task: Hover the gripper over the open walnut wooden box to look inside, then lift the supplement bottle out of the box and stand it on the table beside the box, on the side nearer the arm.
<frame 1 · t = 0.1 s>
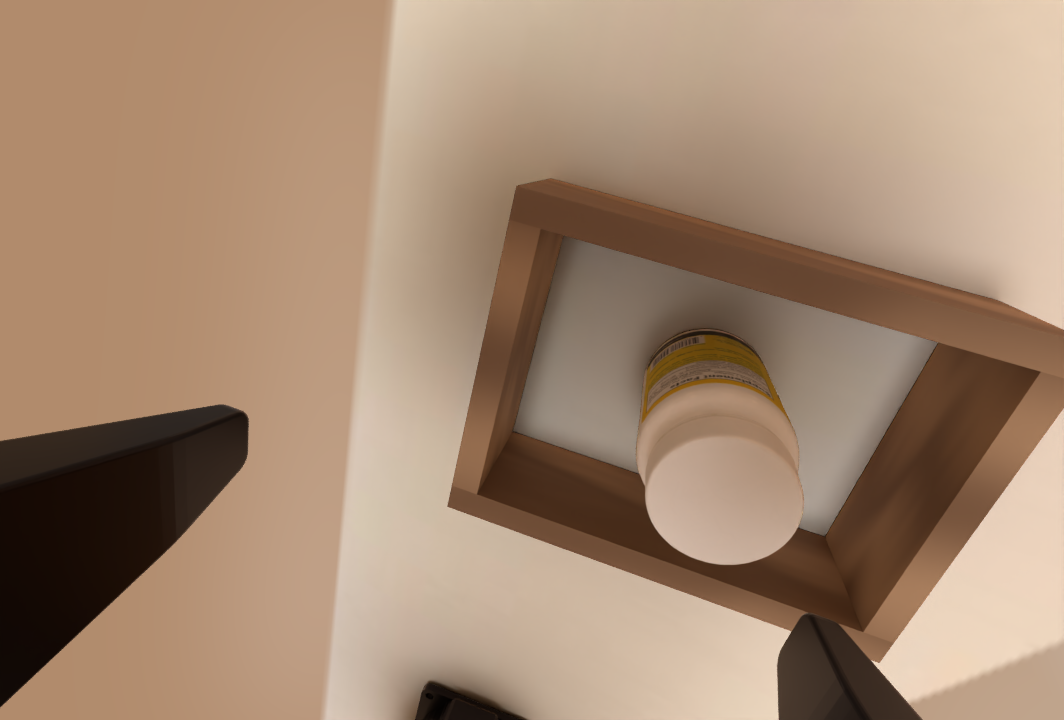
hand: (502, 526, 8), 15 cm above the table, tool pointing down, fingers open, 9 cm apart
walnut box: (703, 382, 22), on the table
supplement bottle: (703, 380, 22), resting in walnut box
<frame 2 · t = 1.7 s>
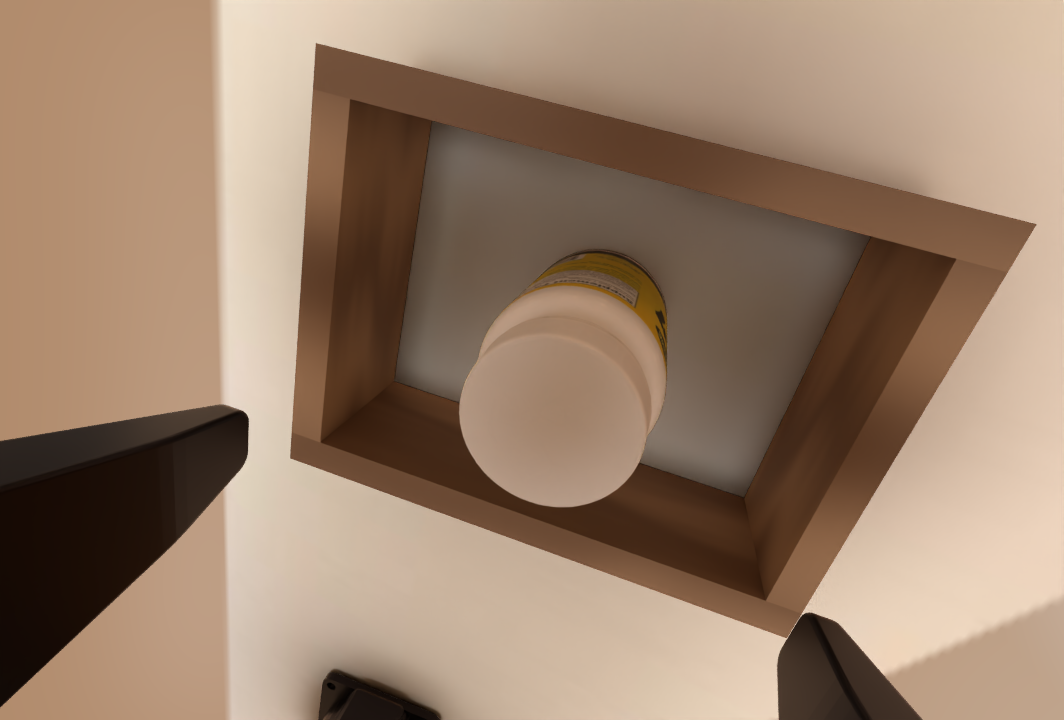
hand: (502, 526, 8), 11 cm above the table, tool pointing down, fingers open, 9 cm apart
walnut box: (597, 316, 19), on the table
supplement bottle: (598, 314, 19), resting in walnut box
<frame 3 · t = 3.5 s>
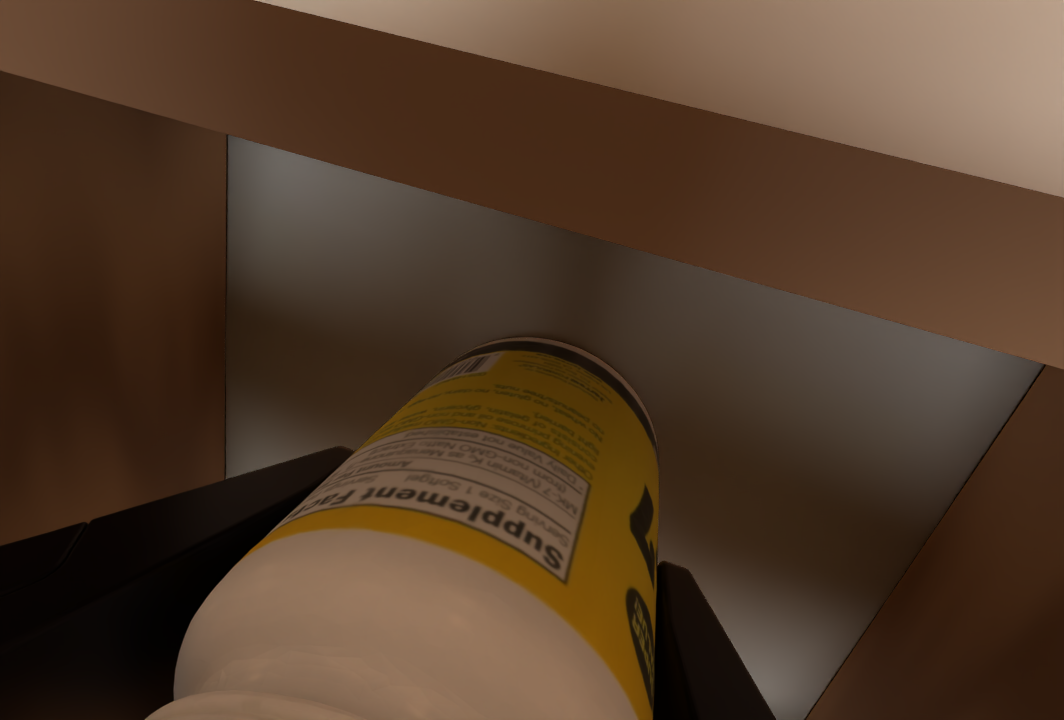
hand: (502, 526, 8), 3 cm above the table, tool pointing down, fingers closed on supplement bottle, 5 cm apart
walnut box: (537, 446, 11), on the table
supplement bottle: (540, 440, 11), resting in walnut box, touching gripper
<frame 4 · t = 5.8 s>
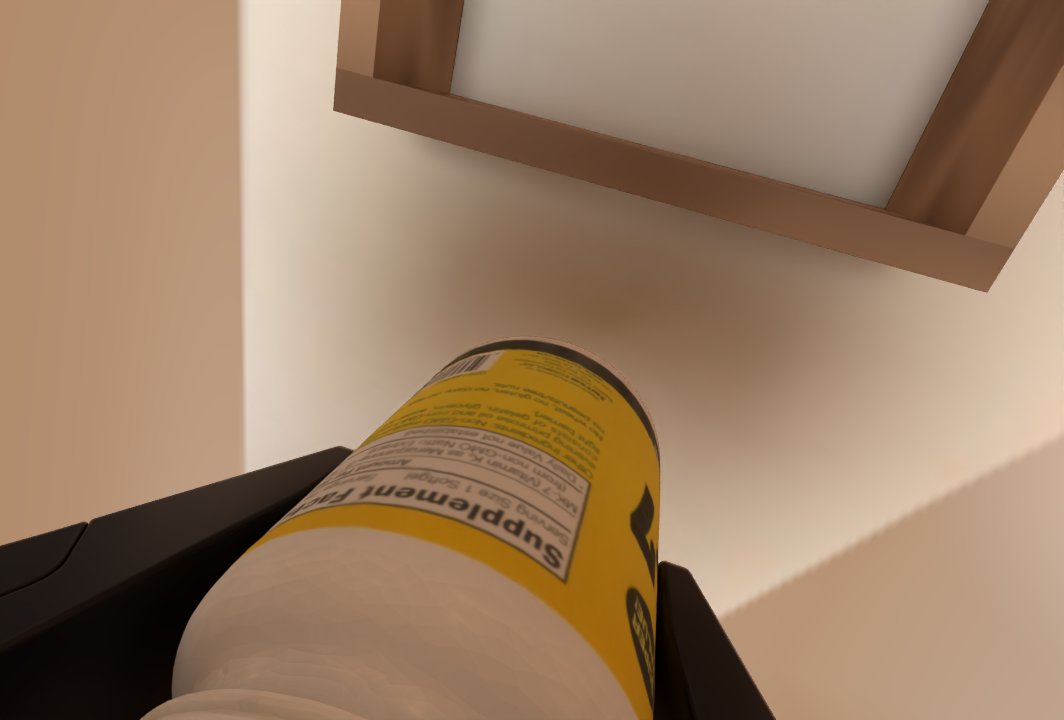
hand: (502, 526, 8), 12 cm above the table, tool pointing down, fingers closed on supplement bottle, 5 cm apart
supplement bottle: (540, 440, 11), point 9 cm above the table, touching gripper
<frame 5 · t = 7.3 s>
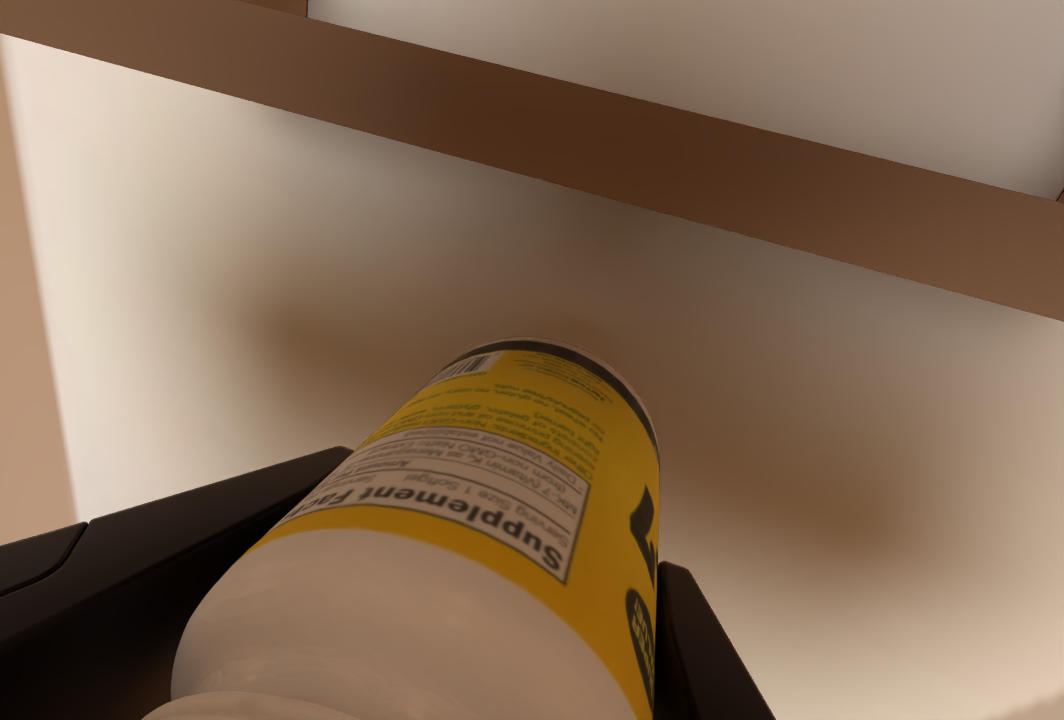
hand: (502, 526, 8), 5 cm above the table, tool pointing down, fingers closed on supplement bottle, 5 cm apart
supplement bottle: (540, 440, 11), point 2 cm above the table, touching gripper
when the fingers open (4 cm above the table, at t = 8.2 s): supplement bottle drops 1 cm, on the table.
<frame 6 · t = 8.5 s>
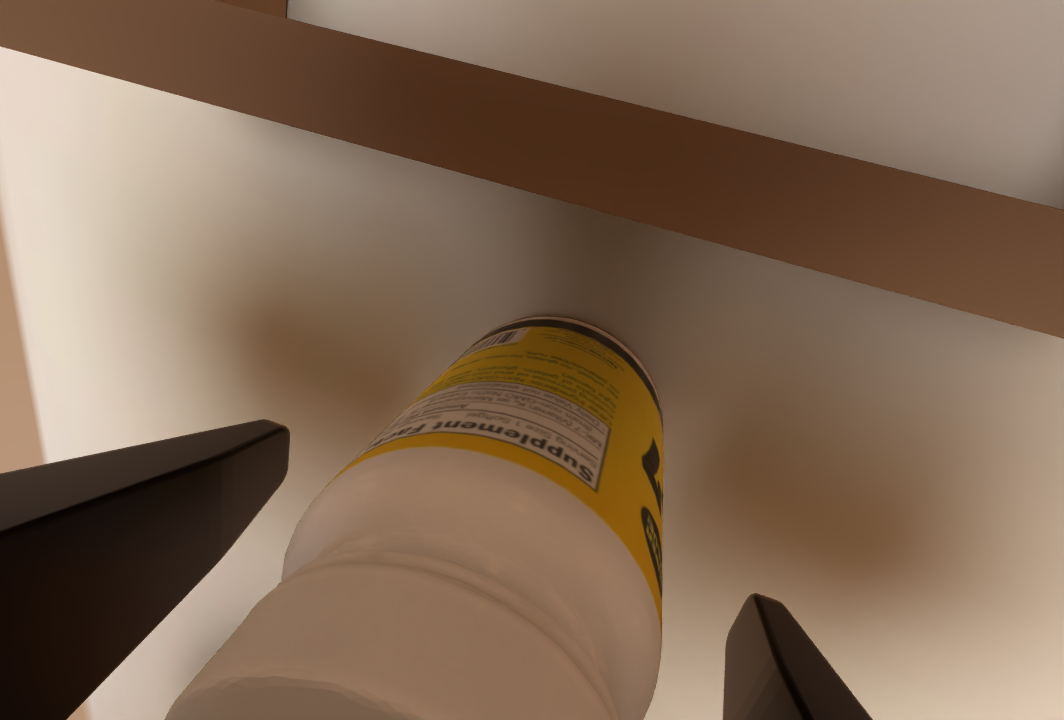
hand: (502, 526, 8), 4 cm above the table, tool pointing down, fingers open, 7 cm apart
supplement bottle: (556, 410, 12), on the table
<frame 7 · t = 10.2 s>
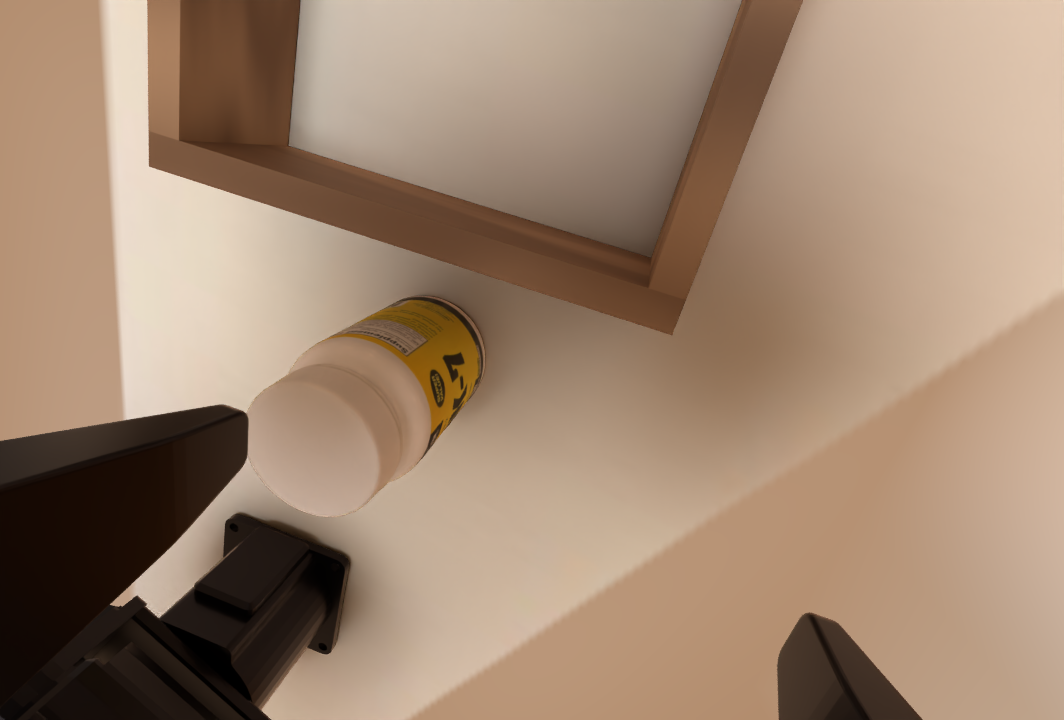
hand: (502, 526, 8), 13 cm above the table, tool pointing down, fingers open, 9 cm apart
walnut box: (494, 45, 18), on the table
supplement bottle: (433, 349, 22), on the table
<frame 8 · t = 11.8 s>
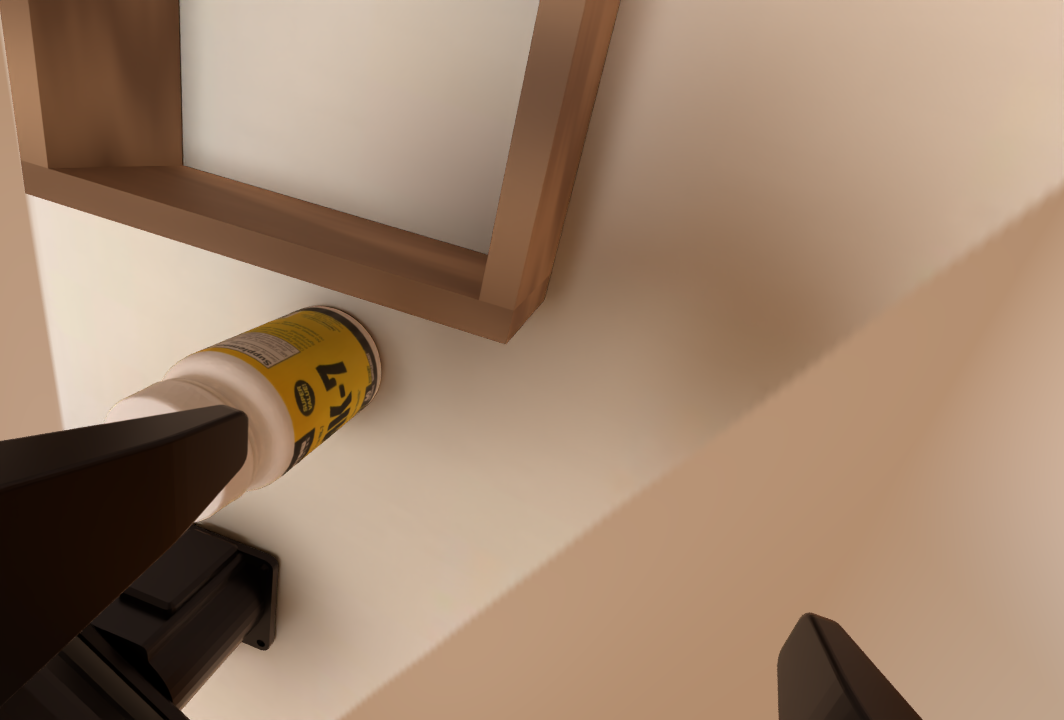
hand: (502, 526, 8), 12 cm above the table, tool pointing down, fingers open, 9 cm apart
walnut box: (359, 64, 18), on the table
supplement bottle: (335, 357, 23), on the table
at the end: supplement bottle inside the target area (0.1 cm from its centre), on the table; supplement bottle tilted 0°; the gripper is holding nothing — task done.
